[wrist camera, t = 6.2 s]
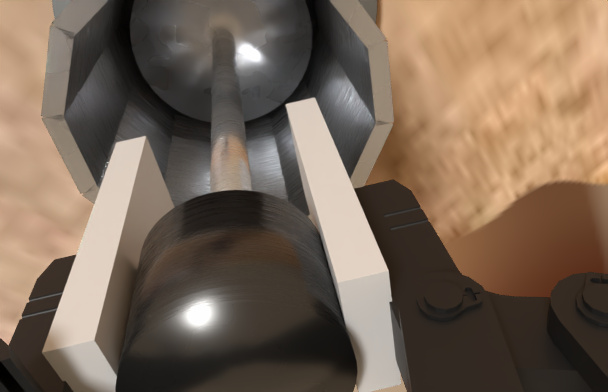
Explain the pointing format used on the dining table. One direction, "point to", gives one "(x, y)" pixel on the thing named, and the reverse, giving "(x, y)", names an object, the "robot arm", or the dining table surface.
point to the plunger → (231, 219)
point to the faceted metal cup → (197, 134)
